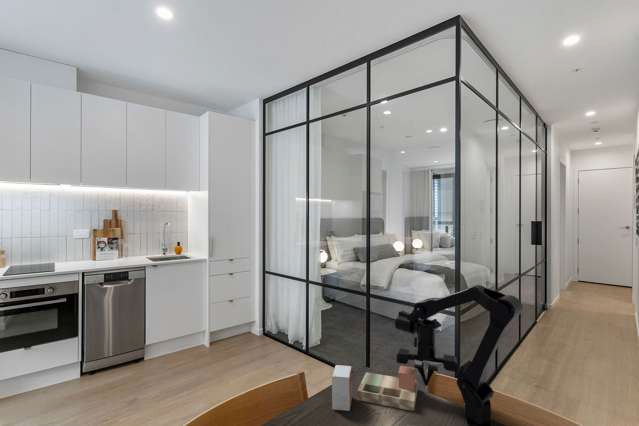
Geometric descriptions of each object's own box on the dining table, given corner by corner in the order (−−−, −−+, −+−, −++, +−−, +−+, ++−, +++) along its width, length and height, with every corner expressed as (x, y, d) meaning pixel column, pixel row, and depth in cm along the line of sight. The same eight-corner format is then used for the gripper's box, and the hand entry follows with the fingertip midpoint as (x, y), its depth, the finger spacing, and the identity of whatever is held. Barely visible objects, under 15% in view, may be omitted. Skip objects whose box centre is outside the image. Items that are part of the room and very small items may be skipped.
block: (415, 382, 110) (415, 368, 110) (414, 390, 106) (414, 375, 106) (400, 380, 112) (400, 365, 112) (398, 387, 108) (398, 372, 108)
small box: (349, 411, 100) (349, 377, 100) (332, 409, 101) (331, 376, 101) (352, 397, 107) (352, 365, 107) (335, 395, 109) (335, 364, 109)
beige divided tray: (417, 389, 112) (417, 380, 112) (414, 411, 99) (414, 401, 99) (366, 380, 118) (366, 372, 118) (357, 399, 106) (357, 390, 106)
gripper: (455, 333, 111) (456, 378, 111) (400, 326, 118) (400, 369, 118) (456, 345, 100) (457, 395, 101) (395, 337, 107) (396, 384, 107)
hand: (426, 385), depth 107 cm, fingers closed
